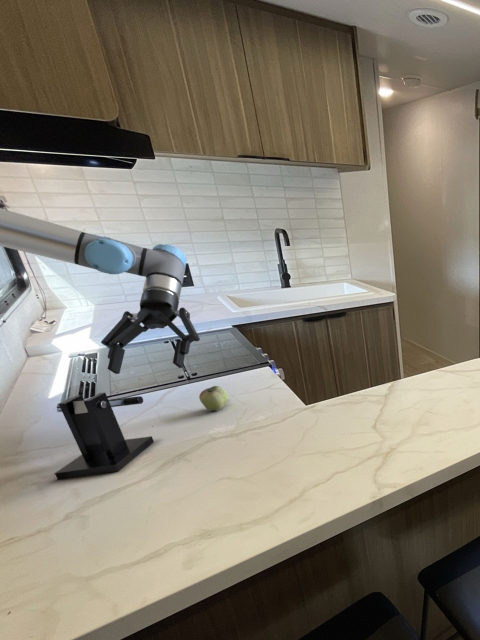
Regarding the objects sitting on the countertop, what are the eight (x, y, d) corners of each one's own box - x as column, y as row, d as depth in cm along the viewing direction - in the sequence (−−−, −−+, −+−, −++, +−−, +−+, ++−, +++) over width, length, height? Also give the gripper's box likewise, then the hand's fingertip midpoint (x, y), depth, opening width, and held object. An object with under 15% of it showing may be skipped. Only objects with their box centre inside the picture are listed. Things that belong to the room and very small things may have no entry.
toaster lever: (110, 408, 88) (108, 398, 88) (144, 404, 90) (142, 394, 89) (61, 415, 76) (59, 403, 76) (100, 411, 78) (98, 398, 77)
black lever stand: (102, 448, 87) (76, 390, 82) (154, 442, 89) (131, 384, 84) (57, 480, 76) (24, 414, 71) (118, 471, 78) (90, 406, 73)
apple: (230, 400, 110) (224, 380, 108) (231, 409, 104) (224, 388, 102) (204, 405, 107) (197, 385, 105) (203, 416, 101) (196, 394, 99)
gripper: (220, 301, 111) (211, 369, 102) (116, 309, 106) (98, 380, 98) (206, 284, 104) (195, 355, 96) (94, 291, 100) (72, 366, 91)
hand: (146, 368), depth 97 cm, fingers open, 13 cm apart
